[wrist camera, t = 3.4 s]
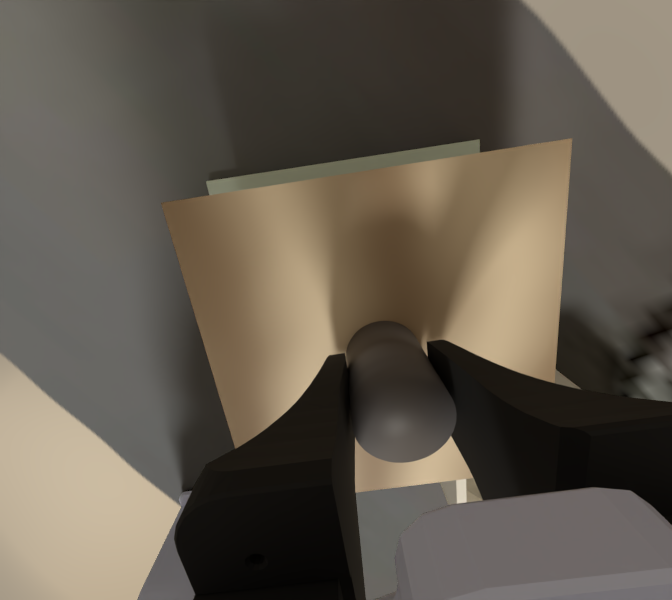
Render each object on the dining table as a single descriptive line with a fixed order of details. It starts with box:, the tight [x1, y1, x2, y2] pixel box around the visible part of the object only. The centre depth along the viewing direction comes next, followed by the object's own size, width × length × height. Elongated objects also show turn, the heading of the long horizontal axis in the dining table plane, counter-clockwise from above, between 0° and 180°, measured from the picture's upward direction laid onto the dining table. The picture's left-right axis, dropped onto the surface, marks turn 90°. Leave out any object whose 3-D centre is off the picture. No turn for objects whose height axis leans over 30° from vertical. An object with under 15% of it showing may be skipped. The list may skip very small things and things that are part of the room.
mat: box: [206, 139, 480, 195], centre depth 20 cm, size 15×15×1 cm
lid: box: [161, 138, 572, 492], centre depth 11 cm, size 14×14×5 cm
